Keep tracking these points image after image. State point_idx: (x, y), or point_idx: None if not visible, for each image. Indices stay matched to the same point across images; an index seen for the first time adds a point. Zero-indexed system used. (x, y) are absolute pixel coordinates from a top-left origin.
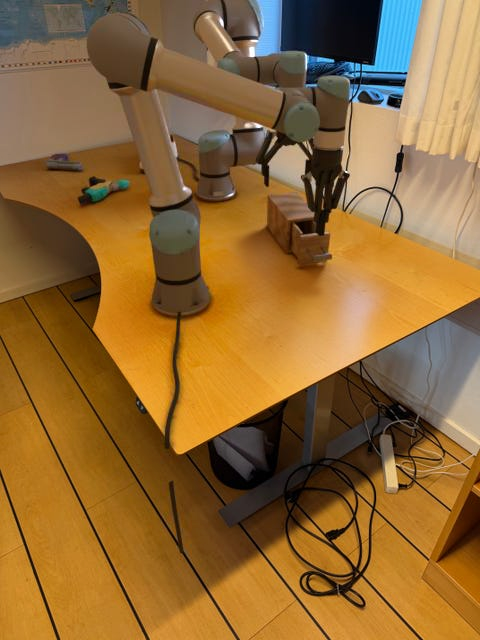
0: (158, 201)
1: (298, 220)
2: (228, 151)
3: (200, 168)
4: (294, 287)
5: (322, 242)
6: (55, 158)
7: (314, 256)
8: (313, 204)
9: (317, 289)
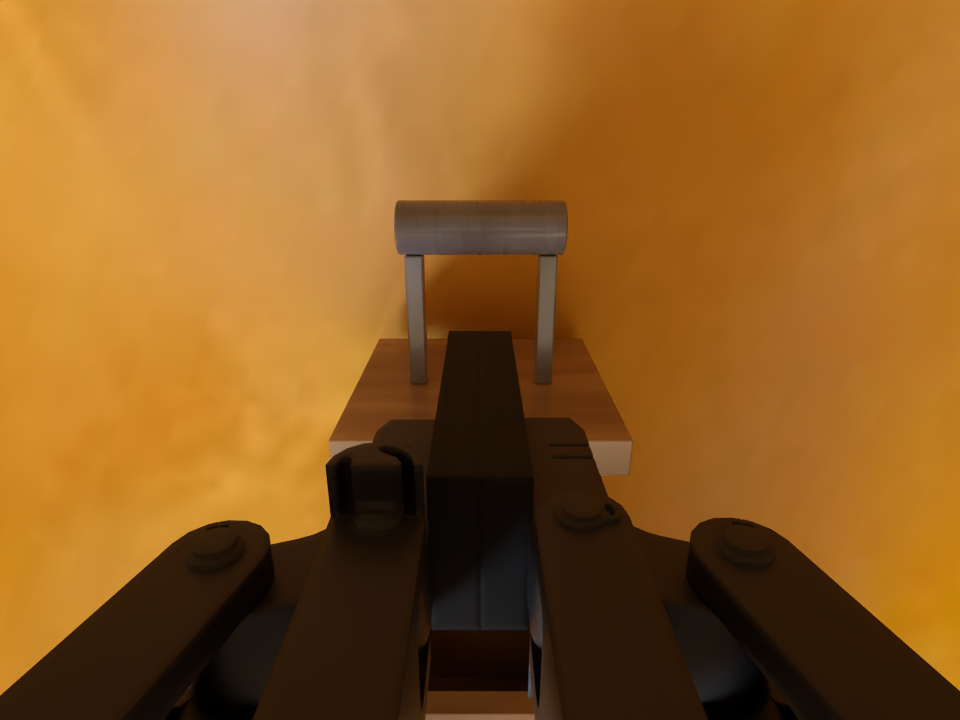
0: None
1: (531, 700)
2: None
3: None
4: (716, 101)
5: (413, 401)
6: None
7: (557, 225)
8: (818, 650)
9: (575, 24)
